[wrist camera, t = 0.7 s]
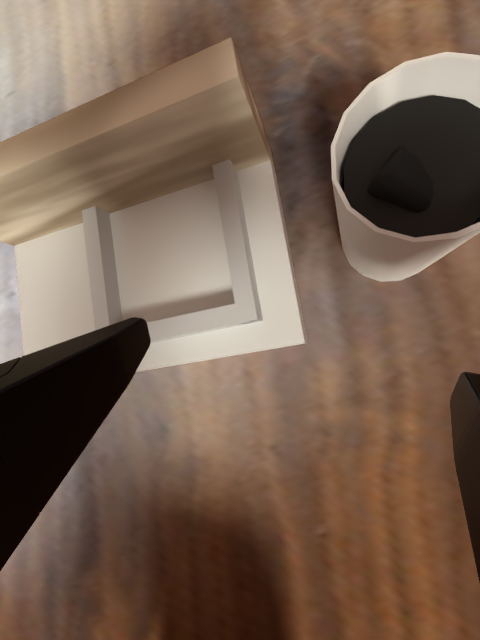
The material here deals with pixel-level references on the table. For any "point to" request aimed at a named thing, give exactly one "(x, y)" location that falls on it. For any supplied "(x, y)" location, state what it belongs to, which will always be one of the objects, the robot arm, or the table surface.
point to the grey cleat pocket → (171, 272)
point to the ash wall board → (131, 145)
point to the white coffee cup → (409, 166)
